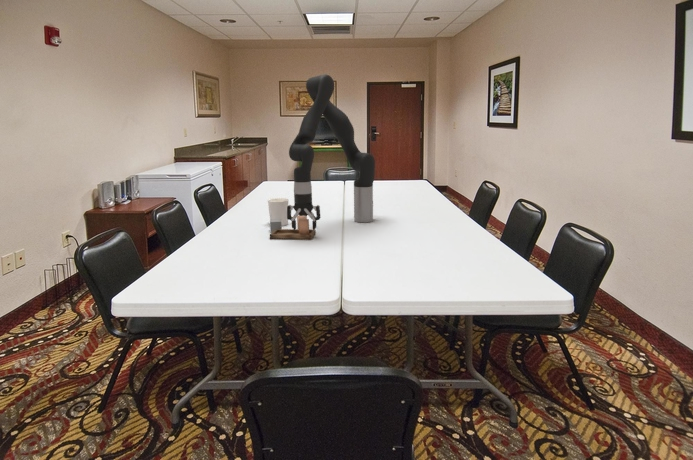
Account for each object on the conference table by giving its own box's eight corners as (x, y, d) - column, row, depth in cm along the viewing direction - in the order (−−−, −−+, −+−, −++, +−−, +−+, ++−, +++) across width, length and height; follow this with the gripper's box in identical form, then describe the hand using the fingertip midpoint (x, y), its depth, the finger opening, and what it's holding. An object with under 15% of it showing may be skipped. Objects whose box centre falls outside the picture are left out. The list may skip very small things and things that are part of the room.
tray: (315, 234, 210) (315, 229, 210) (311, 239, 201) (311, 235, 200) (276, 233, 212) (275, 229, 212) (269, 239, 203) (269, 234, 202)
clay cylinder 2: (310, 234, 207) (309, 218, 206) (308, 236, 203) (307, 221, 202) (300, 234, 208) (299, 218, 206) (298, 236, 204) (297, 220, 202)
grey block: (281, 229, 219) (281, 219, 218) (281, 232, 214) (281, 221, 213) (270, 230, 219) (270, 219, 217) (270, 232, 214) (270, 222, 212)
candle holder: (285, 227, 224) (284, 202, 221) (266, 226, 226) (264, 201, 223) (292, 222, 233) (291, 198, 230) (273, 221, 235) (272, 197, 232)
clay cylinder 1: (307, 229, 218) (307, 214, 216) (307, 232, 213) (306, 217, 211) (298, 229, 217) (297, 215, 216) (297, 232, 213) (296, 217, 211)
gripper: (320, 190, 204) (321, 227, 208) (288, 190, 206) (290, 226, 210) (317, 193, 197) (319, 231, 201) (284, 193, 198) (286, 231, 202)
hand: (304, 229), depth 205 cm, fingers open, 8 cm apart
